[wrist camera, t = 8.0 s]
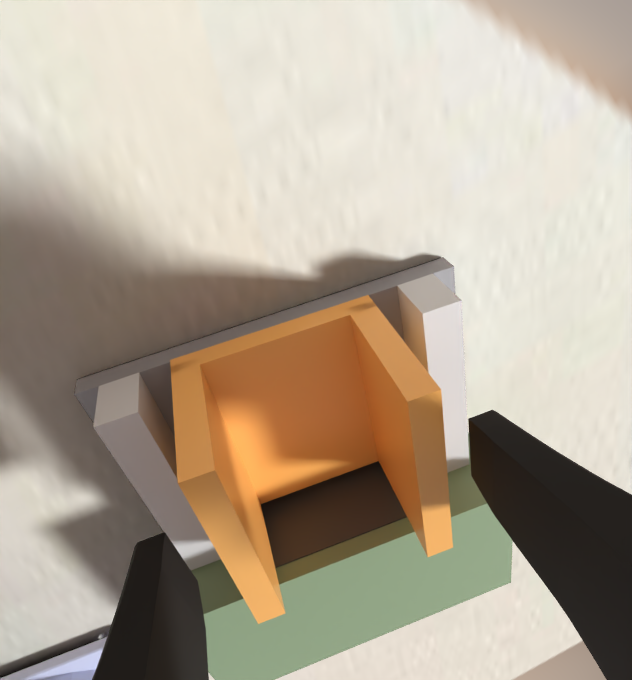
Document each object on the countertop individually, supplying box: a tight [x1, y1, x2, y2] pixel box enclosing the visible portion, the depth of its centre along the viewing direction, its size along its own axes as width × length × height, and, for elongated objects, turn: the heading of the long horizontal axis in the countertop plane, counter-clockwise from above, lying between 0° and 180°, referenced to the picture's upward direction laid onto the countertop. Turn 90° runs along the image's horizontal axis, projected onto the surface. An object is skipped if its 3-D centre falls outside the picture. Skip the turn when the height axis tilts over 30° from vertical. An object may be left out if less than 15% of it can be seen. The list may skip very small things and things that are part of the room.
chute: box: [170, 295, 453, 624], centre depth 13 cm, size 5×6×4 cm
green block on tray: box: [74, 258, 512, 680], centre depth 15 cm, size 10×11×4 cm
